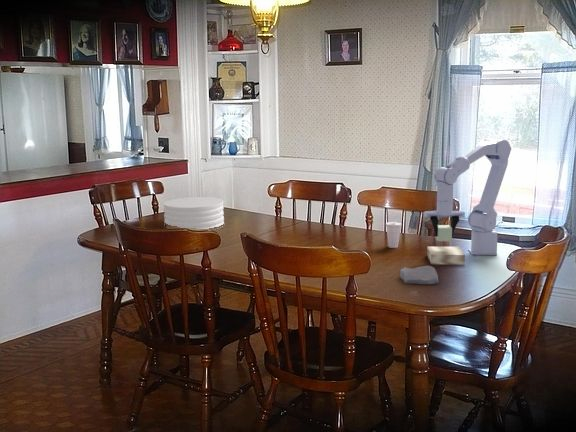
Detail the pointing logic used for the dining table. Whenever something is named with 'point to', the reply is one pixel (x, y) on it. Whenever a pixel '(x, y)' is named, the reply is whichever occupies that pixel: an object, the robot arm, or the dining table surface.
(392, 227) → the smoothie
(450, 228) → the green block
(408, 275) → the stone block
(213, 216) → the plate stack
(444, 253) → the beige panel
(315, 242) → the dining table surface
